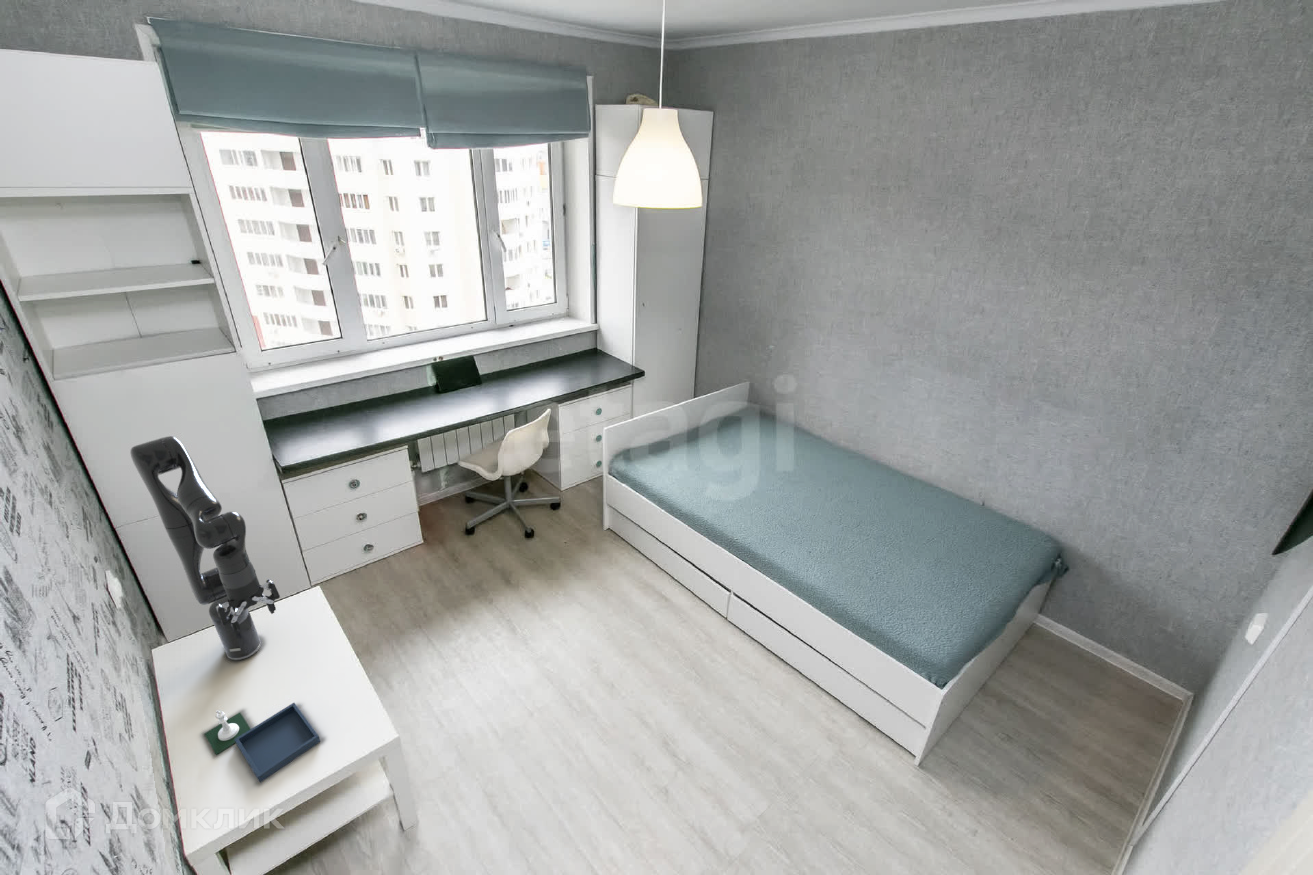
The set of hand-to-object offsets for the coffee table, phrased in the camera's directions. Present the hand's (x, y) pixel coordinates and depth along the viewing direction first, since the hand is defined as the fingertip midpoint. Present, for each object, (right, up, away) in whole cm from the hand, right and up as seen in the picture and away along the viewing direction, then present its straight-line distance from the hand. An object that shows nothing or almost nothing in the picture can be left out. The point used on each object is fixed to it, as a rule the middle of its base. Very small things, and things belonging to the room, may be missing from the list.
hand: (255, 620), depth 167 cm
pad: (-8, -32, 0) cm, 33 cm away
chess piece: (-7, -32, 0) cm, 33 cm away
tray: (+8, -34, -1) cm, 35 cm away
